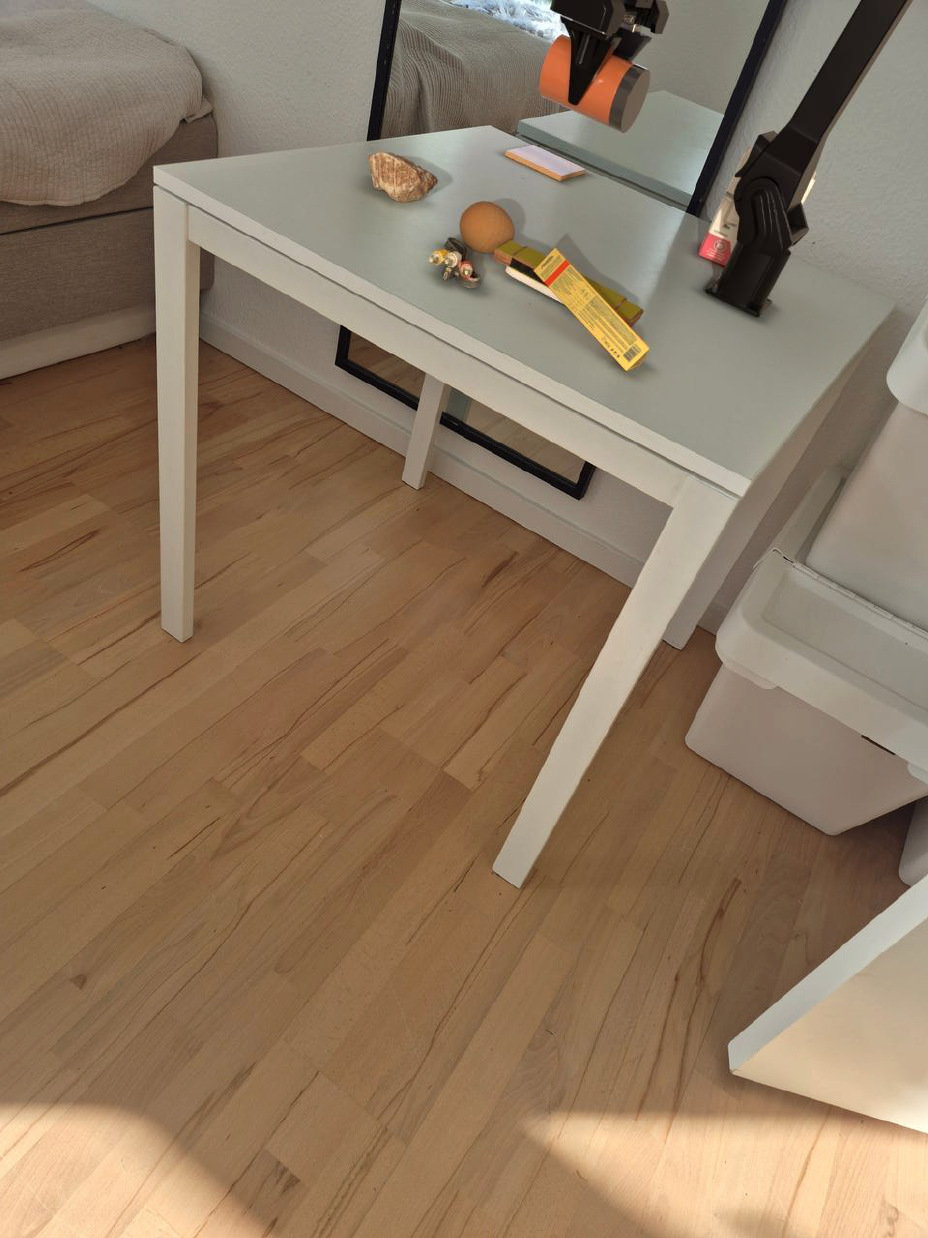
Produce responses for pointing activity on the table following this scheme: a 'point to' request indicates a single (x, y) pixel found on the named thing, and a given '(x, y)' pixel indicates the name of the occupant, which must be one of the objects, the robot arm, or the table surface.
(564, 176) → the coaster
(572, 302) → the chocolate bar
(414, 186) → the stone
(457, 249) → the composite cable
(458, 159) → the table surface
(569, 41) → the jar
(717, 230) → the ink box
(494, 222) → the egg
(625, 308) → the olive brown bar
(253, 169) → the table surface
